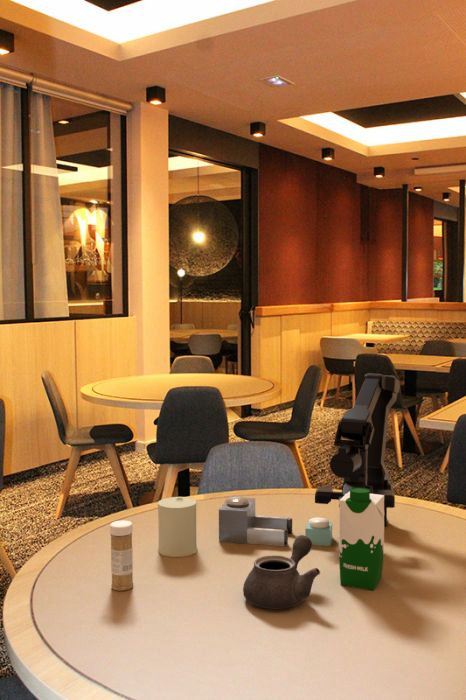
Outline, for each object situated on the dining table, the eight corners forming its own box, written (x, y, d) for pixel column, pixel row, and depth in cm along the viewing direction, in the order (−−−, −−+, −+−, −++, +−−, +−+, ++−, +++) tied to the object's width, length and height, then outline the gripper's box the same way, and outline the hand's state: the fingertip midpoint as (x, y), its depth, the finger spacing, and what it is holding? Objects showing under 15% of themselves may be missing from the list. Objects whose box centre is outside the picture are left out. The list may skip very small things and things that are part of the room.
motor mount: (292, 531, 180) (293, 496, 180) (287, 546, 170) (287, 509, 169) (228, 527, 184) (228, 493, 183) (218, 541, 173) (218, 505, 172)
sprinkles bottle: (129, 581, 149) (128, 518, 148) (136, 589, 145) (135, 524, 144) (108, 585, 147) (107, 521, 146) (114, 593, 143) (113, 528, 142)
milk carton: (334, 585, 146) (335, 490, 145) (347, 570, 155) (347, 480, 153) (377, 593, 143) (378, 495, 141) (387, 577, 151) (388, 484, 149)
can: (199, 543, 172) (199, 495, 171) (194, 557, 163) (193, 506, 162) (162, 542, 173) (161, 494, 172) (154, 556, 163) (153, 505, 163)
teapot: (309, 622, 130) (309, 569, 130) (232, 607, 137) (232, 556, 136) (338, 584, 148) (338, 537, 147) (269, 572, 154) (269, 527, 153)
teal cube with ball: (332, 538, 176) (332, 517, 175) (330, 546, 170) (330, 525, 170) (308, 536, 177) (308, 516, 177) (305, 544, 171) (305, 523, 171)
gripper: (312, 474, 164) (312, 540, 166) (395, 478, 161) (394, 546, 162) (317, 463, 175) (316, 525, 177) (394, 467, 171) (394, 530, 173)
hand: (354, 531), depth 172 cm, fingers closed
